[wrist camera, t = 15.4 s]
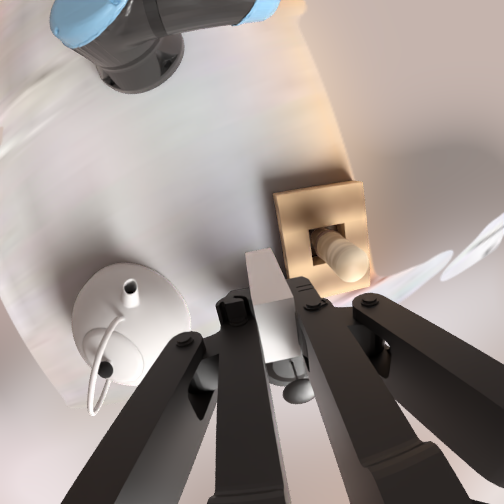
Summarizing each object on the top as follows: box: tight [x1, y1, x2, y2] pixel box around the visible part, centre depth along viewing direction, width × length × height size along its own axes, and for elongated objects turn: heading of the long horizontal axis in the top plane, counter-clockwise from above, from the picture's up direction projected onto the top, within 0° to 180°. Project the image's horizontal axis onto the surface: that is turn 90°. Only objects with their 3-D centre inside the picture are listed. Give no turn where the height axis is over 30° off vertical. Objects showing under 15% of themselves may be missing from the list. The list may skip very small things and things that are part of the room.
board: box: [273, 181, 370, 298], centre depth 46 cm, size 18×14×4 cm
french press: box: [266, 348, 315, 404], centre depth 40 cm, size 12×9×23 cm
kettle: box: [72, 263, 191, 416], centre depth 39 cm, size 25×23×22 cm
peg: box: [310, 227, 369, 282], centre depth 41 cm, size 5×5×14 cm
